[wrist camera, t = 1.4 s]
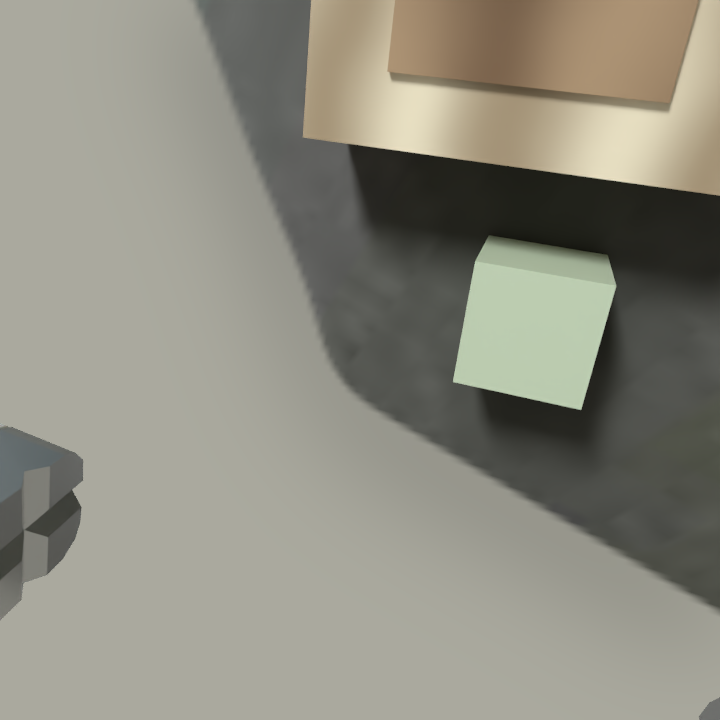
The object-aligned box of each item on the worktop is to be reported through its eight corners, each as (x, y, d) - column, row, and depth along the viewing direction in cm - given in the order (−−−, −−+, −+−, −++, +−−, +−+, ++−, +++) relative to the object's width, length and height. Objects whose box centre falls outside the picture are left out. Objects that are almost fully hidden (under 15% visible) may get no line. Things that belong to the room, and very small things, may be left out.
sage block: (607, 254, 27) (616, 286, 22) (578, 361, 29) (581, 409, 24) (489, 234, 28) (475, 261, 23) (469, 339, 30) (453, 381, 25)
